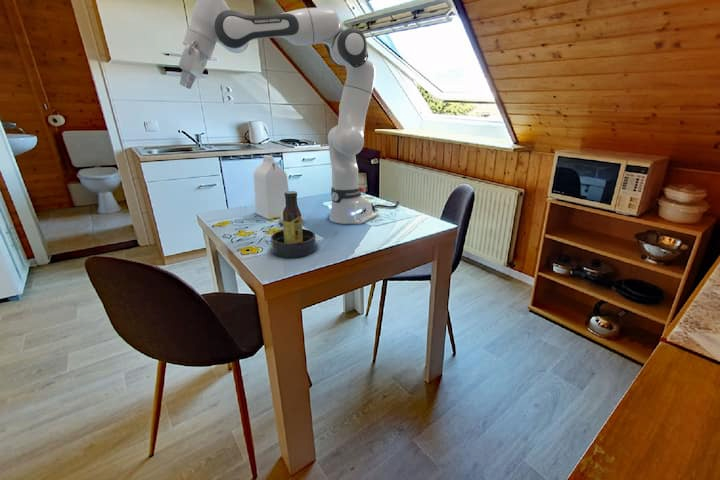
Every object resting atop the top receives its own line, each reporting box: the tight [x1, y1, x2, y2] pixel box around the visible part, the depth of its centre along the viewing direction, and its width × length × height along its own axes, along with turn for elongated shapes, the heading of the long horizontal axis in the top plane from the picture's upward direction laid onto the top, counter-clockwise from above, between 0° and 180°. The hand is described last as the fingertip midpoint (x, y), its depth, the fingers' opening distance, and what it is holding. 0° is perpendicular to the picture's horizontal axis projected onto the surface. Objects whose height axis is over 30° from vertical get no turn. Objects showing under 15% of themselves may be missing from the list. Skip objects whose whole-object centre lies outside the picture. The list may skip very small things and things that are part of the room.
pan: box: [270, 228, 317, 258], centre depth 119 cm, size 15×15×5 cm
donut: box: [278, 215, 304, 225], centre depth 145 cm, size 10×4×10 cm
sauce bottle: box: [282, 190, 303, 244], centre depth 116 cm, size 7×6×20 cm
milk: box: [253, 154, 290, 220], centre depth 153 cm, size 12×12×26 cm
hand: (185, 87), depth 116 cm, fingers open, 8 cm apart
